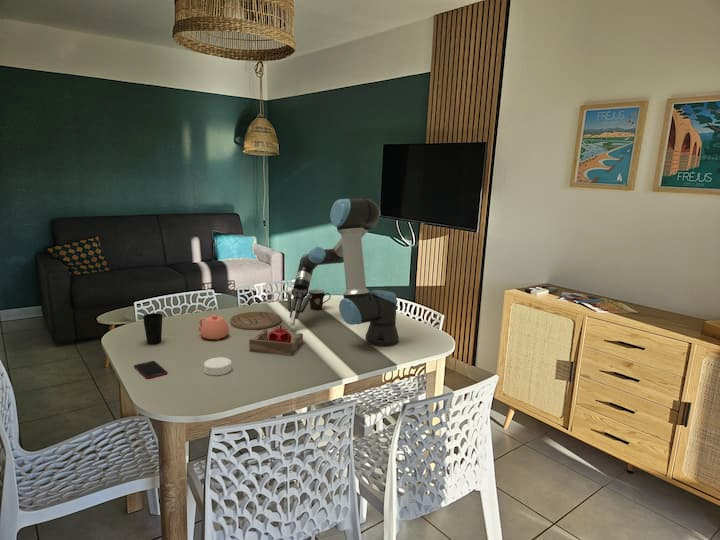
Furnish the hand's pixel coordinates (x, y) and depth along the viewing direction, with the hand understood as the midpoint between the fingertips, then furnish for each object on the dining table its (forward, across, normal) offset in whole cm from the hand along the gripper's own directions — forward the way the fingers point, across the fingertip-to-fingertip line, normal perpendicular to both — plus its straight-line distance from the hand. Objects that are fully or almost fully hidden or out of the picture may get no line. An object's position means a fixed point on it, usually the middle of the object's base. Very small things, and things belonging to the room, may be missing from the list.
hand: (291, 324), depth 224 cm
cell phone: (+42, +37, +37) cm, 67 cm away
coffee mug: (-26, -3, -31) cm, 41 cm away
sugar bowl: (+14, +32, +9) cm, 36 cm away
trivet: (-4, +22, -10) cm, 24 cm away
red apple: (+16, -1, +11) cm, 19 cm away
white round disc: (+38, +13, +32) cm, 51 cm away
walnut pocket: (+17, 0, +12) cm, 20 cm away
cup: (+23, +52, +18) cm, 60 cm away
